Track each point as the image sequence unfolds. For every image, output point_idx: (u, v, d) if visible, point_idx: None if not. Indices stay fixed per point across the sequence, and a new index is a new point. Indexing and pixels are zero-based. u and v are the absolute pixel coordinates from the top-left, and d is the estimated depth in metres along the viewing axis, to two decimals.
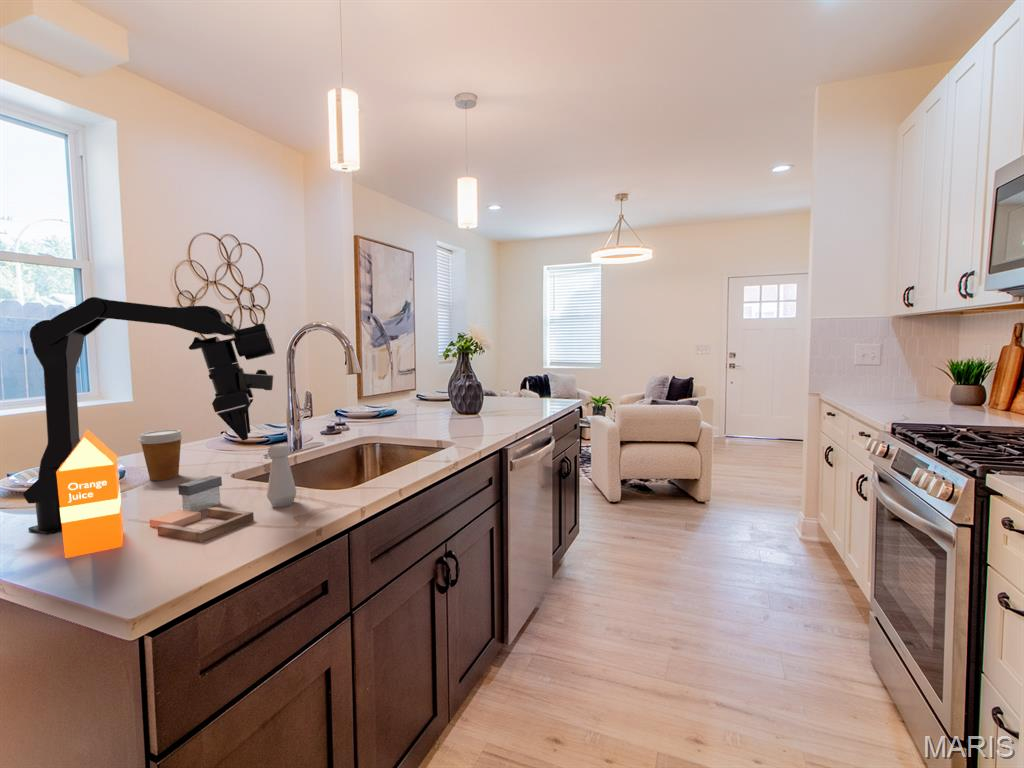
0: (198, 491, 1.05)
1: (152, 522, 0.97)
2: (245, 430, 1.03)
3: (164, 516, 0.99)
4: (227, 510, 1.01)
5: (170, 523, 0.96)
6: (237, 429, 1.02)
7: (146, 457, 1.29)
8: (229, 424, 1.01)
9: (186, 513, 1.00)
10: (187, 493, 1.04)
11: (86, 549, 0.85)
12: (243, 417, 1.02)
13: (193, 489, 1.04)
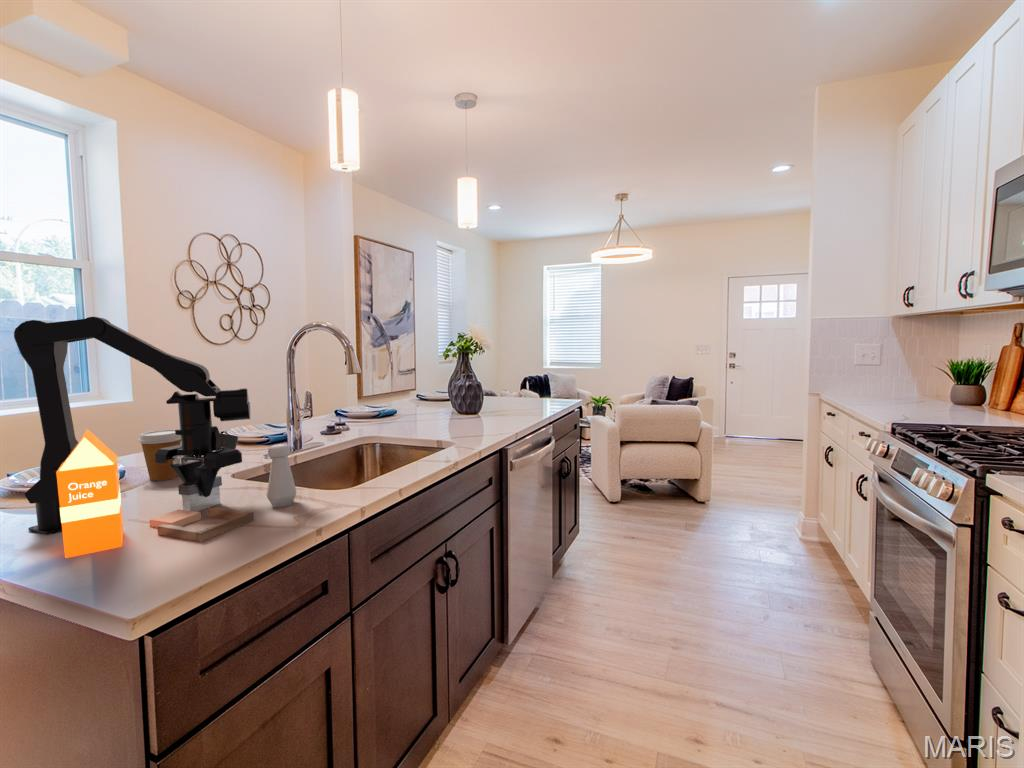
0: (198, 491, 1.05)
1: (152, 522, 0.97)
2: (211, 487, 1.07)
3: (164, 516, 0.99)
4: (227, 510, 1.01)
5: (170, 523, 0.96)
6: (206, 486, 1.06)
7: (146, 457, 1.29)
8: (203, 480, 1.05)
9: (186, 513, 1.00)
10: (187, 493, 1.04)
11: (86, 549, 0.85)
12: (215, 474, 1.07)
13: (193, 489, 1.04)
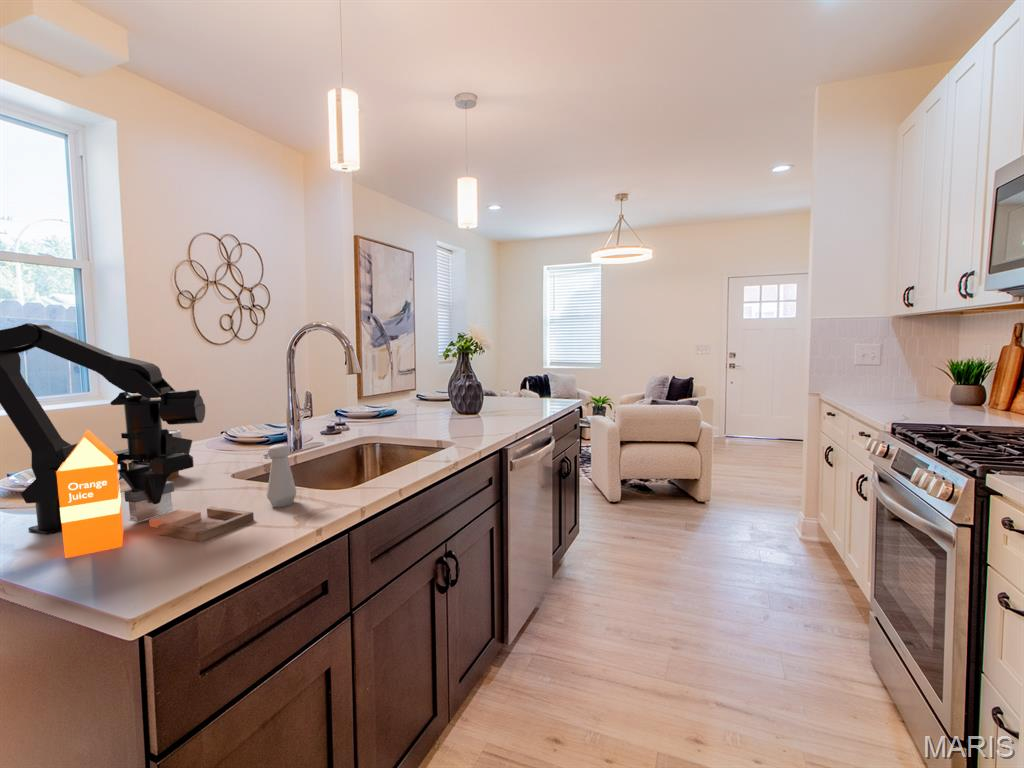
0: (146, 498, 0.99)
1: (152, 522, 0.97)
2: (161, 493, 1.01)
3: (164, 516, 0.99)
4: (227, 510, 1.01)
5: (171, 523, 0.96)
6: (155, 492, 1.00)
7: None
8: (151, 486, 0.98)
9: (186, 513, 1.00)
10: (133, 500, 0.97)
11: (86, 549, 0.85)
12: (165, 479, 1.01)
13: (140, 495, 0.98)
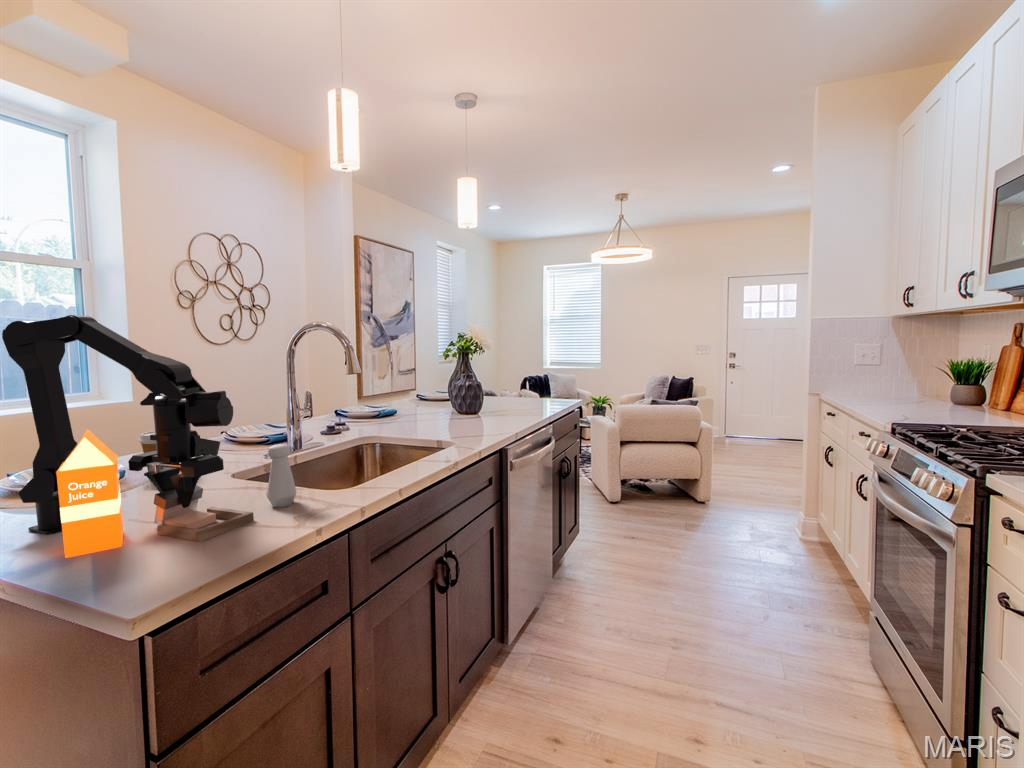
0: (175, 505, 0.97)
1: (167, 523, 0.96)
2: (190, 497, 0.98)
3: (179, 517, 0.98)
4: (227, 510, 1.01)
5: (186, 524, 0.94)
6: (185, 496, 0.97)
7: None
8: (181, 490, 0.96)
9: (201, 514, 0.99)
10: (163, 506, 0.95)
11: (86, 549, 0.85)
12: (195, 482, 0.98)
13: (170, 503, 0.95)
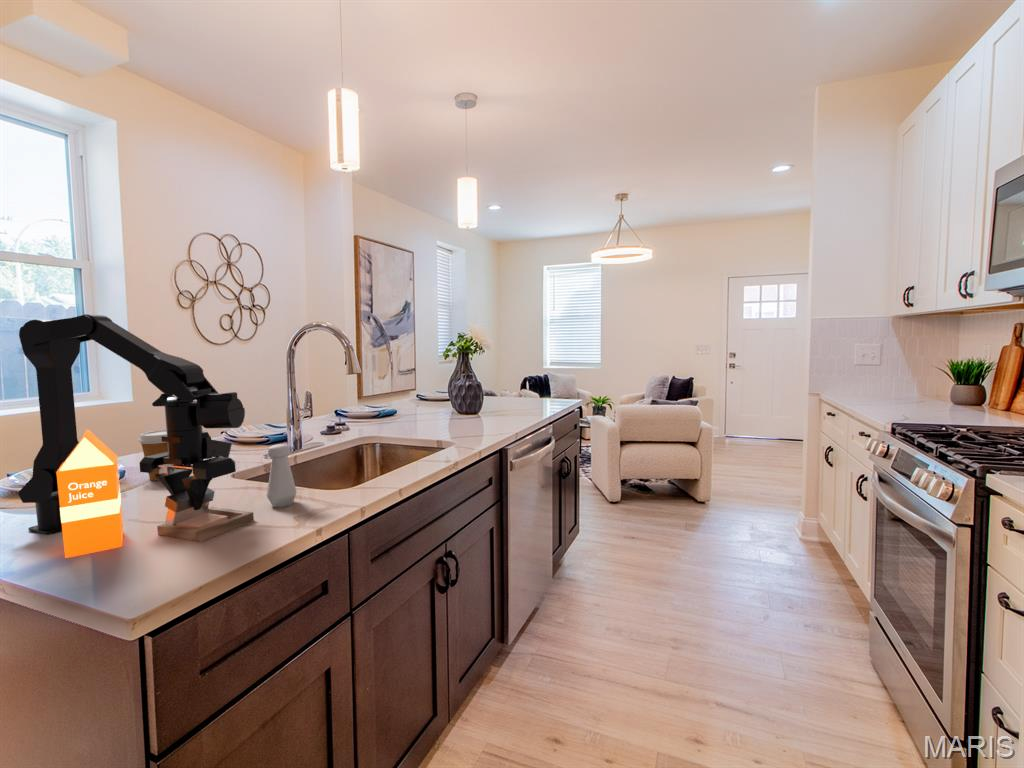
0: (186, 507, 0.95)
1: None
2: (202, 499, 0.97)
3: (190, 520, 0.96)
4: (227, 510, 1.01)
5: (197, 527, 0.93)
6: (196, 498, 0.96)
7: None
8: (193, 492, 0.94)
9: (212, 517, 0.98)
10: (174, 509, 0.94)
11: (86, 549, 0.85)
12: (207, 484, 0.97)
13: (181, 506, 0.94)
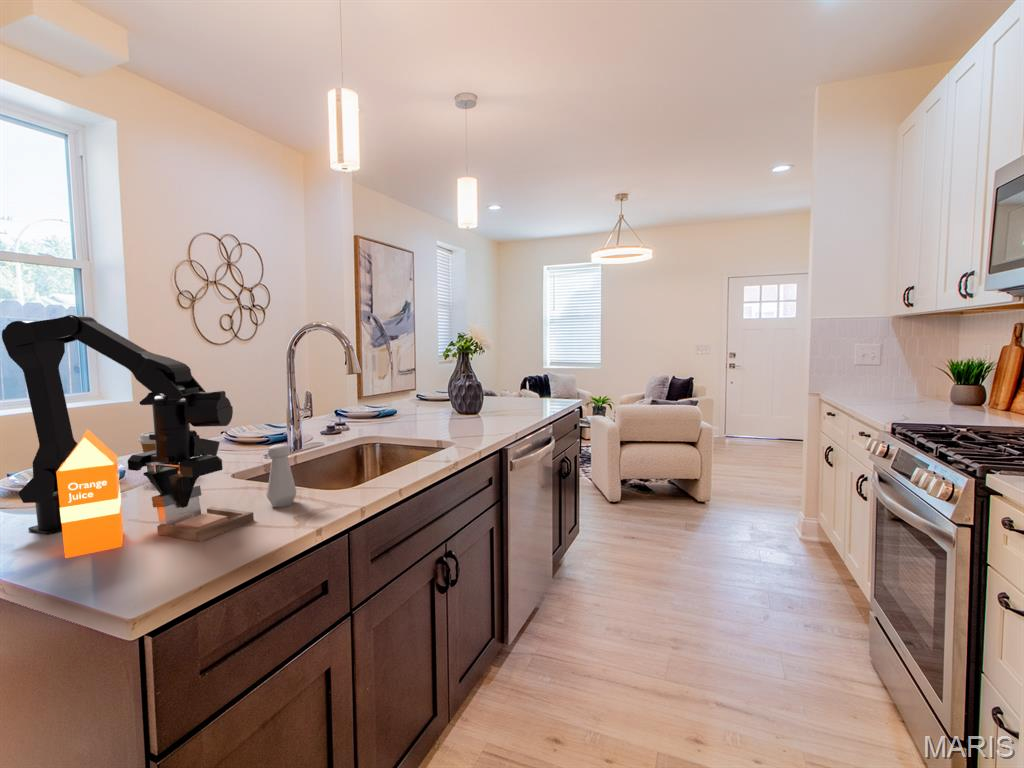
0: (174, 502, 0.96)
1: None
2: (188, 497, 0.98)
3: (190, 520, 0.96)
4: (227, 510, 1.01)
5: (197, 527, 0.93)
6: (183, 496, 0.97)
7: None
8: (179, 489, 0.96)
9: (212, 517, 0.98)
10: (162, 504, 0.95)
11: (86, 549, 0.85)
12: (193, 482, 0.98)
13: (168, 499, 0.95)
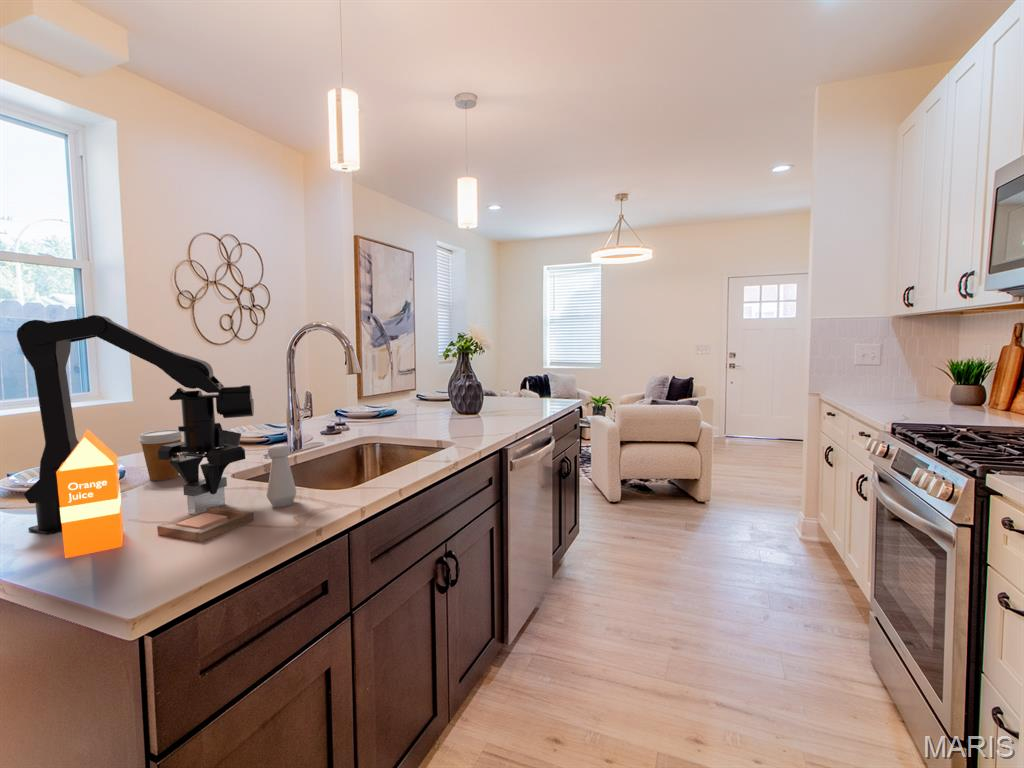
0: (203, 492, 1.05)
1: None
2: (217, 484, 1.06)
3: (190, 520, 0.96)
4: (227, 510, 1.01)
5: (197, 527, 0.93)
6: (213, 483, 1.05)
7: (146, 457, 1.29)
8: (210, 477, 1.04)
9: (212, 517, 0.98)
10: (192, 494, 1.03)
11: (86, 549, 0.85)
12: (222, 471, 1.06)
13: (198, 489, 1.04)
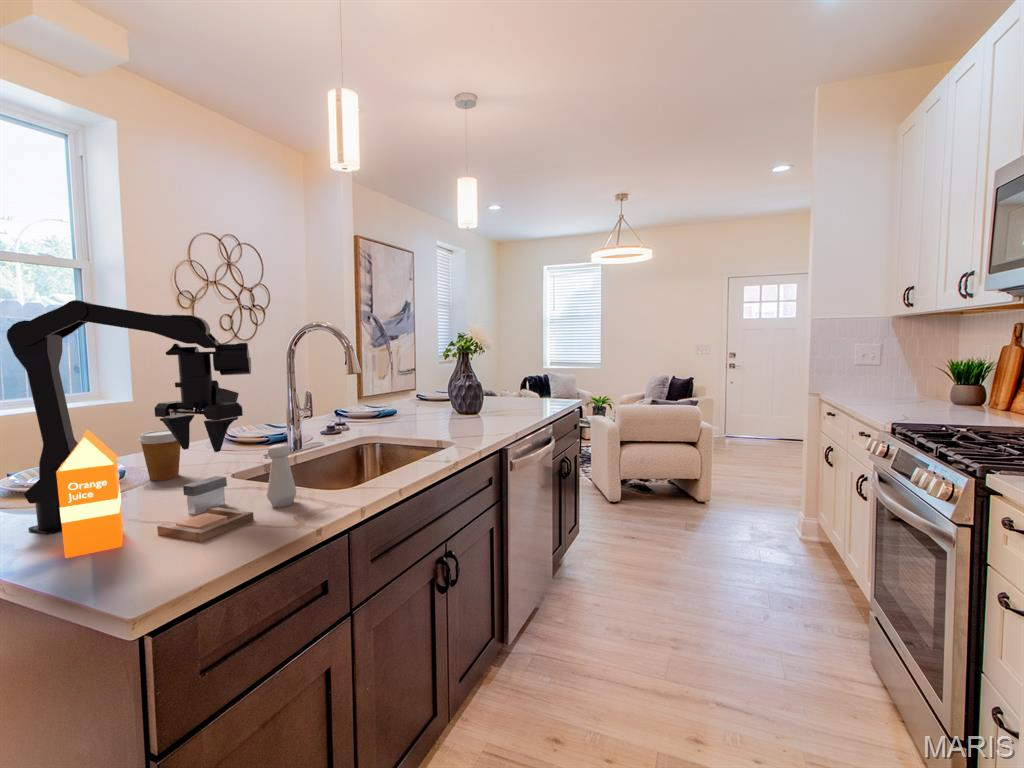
0: (203, 492, 1.05)
1: None
2: (221, 442, 1.05)
3: (190, 520, 0.96)
4: (227, 510, 1.01)
5: (197, 527, 0.93)
6: (216, 440, 1.04)
7: (146, 457, 1.29)
8: (213, 434, 1.02)
9: (212, 517, 0.98)
10: (192, 494, 1.03)
11: (86, 549, 0.85)
12: (226, 428, 1.05)
13: (198, 489, 1.04)
